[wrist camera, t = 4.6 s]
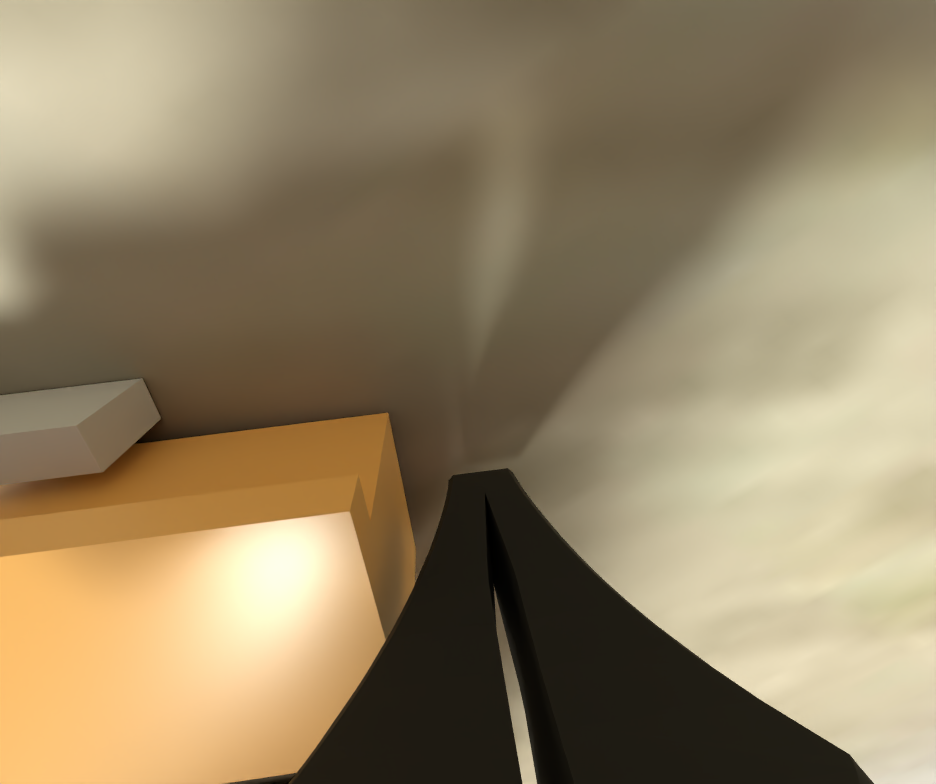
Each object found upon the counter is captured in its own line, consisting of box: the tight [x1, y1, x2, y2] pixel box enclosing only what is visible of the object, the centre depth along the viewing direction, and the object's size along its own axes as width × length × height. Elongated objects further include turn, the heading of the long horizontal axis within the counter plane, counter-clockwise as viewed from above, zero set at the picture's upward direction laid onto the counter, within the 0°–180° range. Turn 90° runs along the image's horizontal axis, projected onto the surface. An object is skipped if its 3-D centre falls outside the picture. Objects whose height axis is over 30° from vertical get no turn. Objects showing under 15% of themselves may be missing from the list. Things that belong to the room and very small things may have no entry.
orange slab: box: [0, 413, 416, 784], centre depth 9 cm, size 8×6×4 cm
